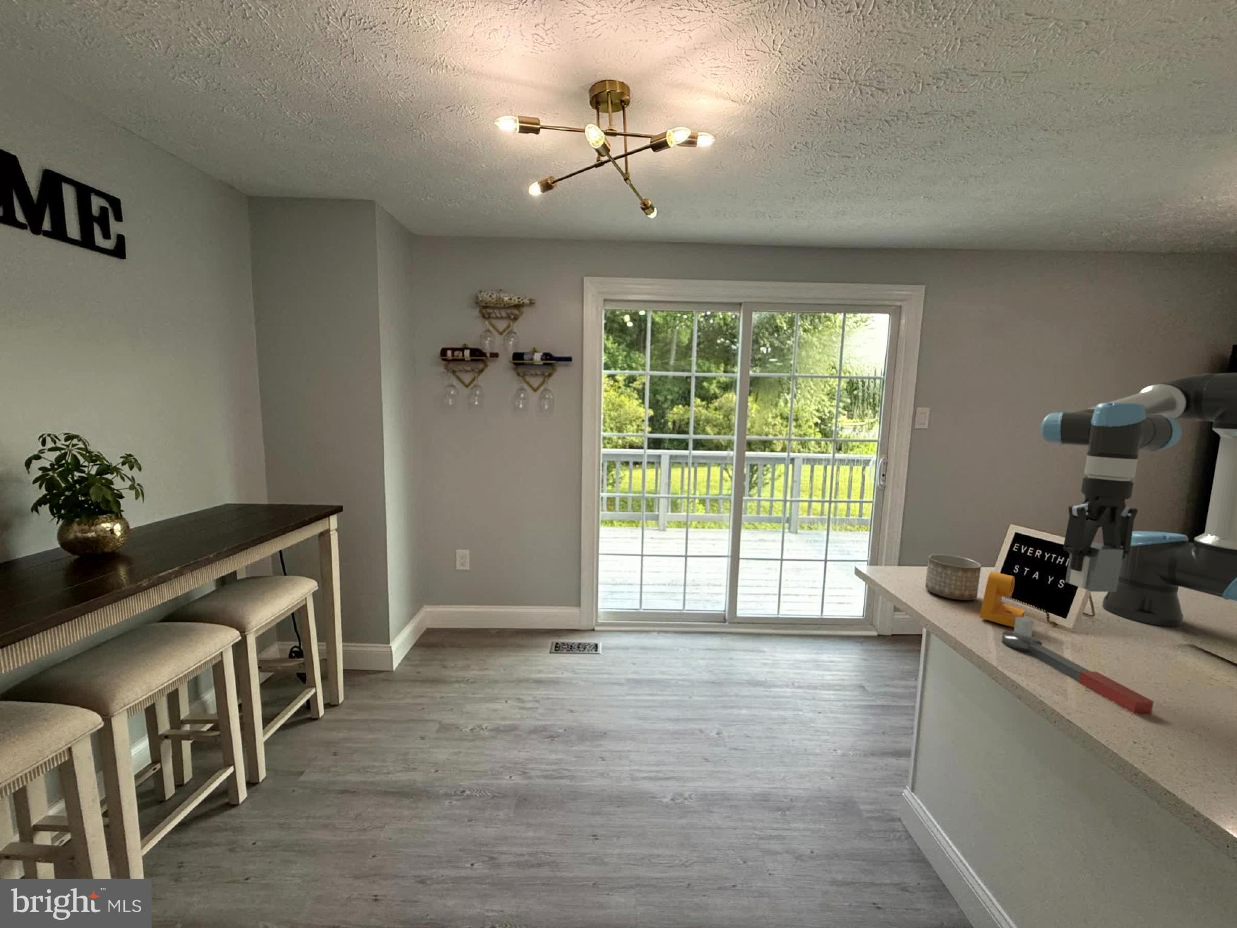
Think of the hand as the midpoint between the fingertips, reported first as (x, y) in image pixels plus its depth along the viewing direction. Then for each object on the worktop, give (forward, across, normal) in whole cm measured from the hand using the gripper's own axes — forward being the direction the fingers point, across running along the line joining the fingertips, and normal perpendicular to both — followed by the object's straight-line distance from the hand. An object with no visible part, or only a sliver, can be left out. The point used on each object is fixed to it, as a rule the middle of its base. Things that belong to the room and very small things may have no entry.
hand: (1090, 585), depth 105 cm
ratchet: (+17, +7, +4) cm, 19 cm away
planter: (+17, -1, -38) cm, 42 cm away
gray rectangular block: (0, 0, 0) cm, 0 cm away
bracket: (+17, -2, -21) cm, 27 cm away
